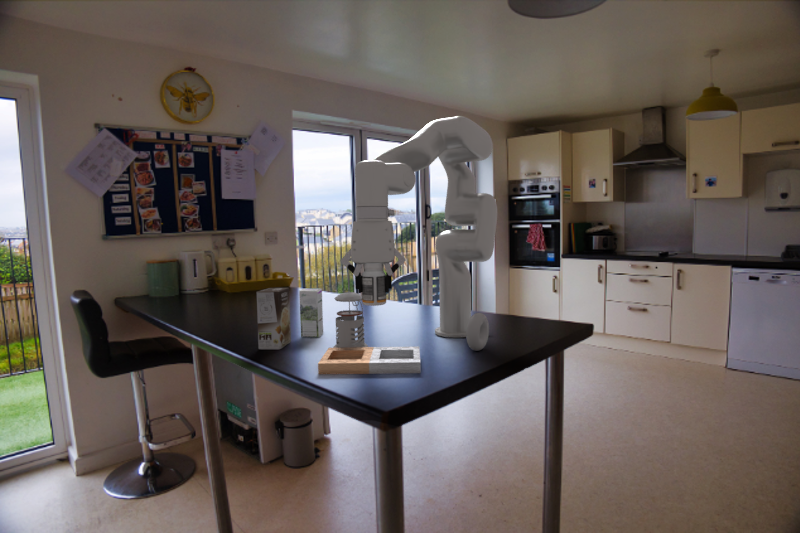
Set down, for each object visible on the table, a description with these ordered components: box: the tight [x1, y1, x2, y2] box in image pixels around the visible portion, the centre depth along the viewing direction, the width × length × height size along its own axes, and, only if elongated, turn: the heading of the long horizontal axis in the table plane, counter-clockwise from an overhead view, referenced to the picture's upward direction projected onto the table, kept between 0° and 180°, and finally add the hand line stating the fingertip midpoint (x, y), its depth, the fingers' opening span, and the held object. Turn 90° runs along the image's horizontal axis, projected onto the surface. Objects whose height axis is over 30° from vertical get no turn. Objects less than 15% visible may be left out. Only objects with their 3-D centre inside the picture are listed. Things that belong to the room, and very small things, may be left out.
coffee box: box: [255, 287, 292, 350], centre depth 133 cm, size 9×6×16 cm
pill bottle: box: [361, 263, 387, 307], centre depth 111 cm, size 6×6×10 cm
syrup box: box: [298, 287, 324, 338], centre depth 145 cm, size 6×6×14 cm
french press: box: [332, 257, 369, 348], centre depth 130 cm, size 10×12×25 cm
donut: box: [465, 312, 490, 352], centre depth 124 cm, size 10×4×10 cm, turn 148°
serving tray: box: [317, 346, 422, 375], centre depth 113 cm, size 23×14×2 cm, turn 89°
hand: (373, 291), depth 111 cm, fingers closed on pill bottle, 5 cm apart
